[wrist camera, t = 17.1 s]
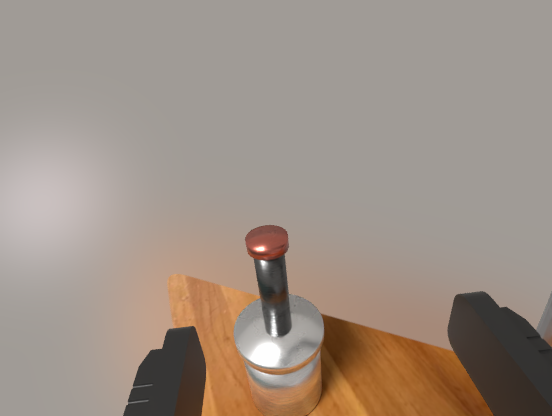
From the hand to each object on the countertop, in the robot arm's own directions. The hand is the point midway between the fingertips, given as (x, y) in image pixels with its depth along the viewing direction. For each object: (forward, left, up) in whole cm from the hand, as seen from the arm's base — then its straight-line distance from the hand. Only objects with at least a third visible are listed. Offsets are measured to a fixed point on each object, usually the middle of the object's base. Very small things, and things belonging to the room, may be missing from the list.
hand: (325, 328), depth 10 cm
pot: (+2, -19, -32) cm, 37 cm away
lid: (+2, -19, -22) cm, 29 cm away
